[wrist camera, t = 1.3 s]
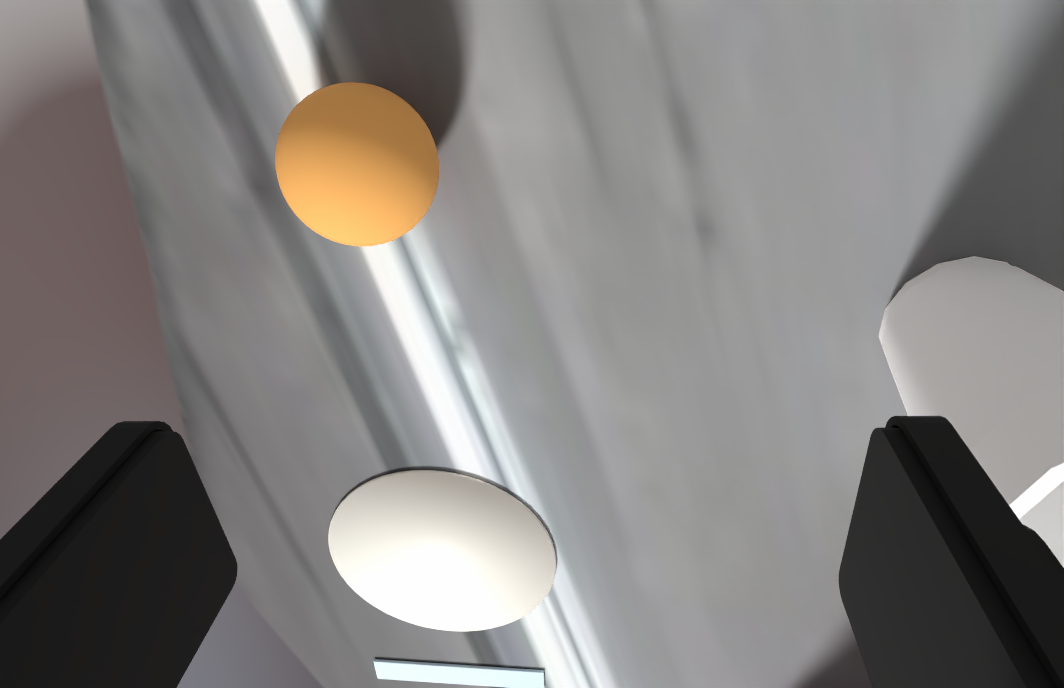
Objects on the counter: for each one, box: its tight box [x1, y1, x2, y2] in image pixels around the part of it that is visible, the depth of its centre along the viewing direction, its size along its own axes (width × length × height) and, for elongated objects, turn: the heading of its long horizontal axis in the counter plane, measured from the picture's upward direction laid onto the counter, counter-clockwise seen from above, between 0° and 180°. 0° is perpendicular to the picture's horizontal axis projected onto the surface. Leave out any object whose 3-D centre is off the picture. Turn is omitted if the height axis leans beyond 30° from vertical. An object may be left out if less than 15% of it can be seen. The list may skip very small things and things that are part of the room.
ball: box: [275, 82, 439, 246], centre depth 26 cm, size 6×6×6 cm
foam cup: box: [879, 256, 1064, 568], centre depth 25 cm, size 10×9×13 cm
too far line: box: [374, 659, 544, 688], centre depth 47 cm, size 2×12×1 cm, turn 92°
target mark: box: [329, 470, 556, 631], centre depth 41 cm, size 14×14×1 cm
